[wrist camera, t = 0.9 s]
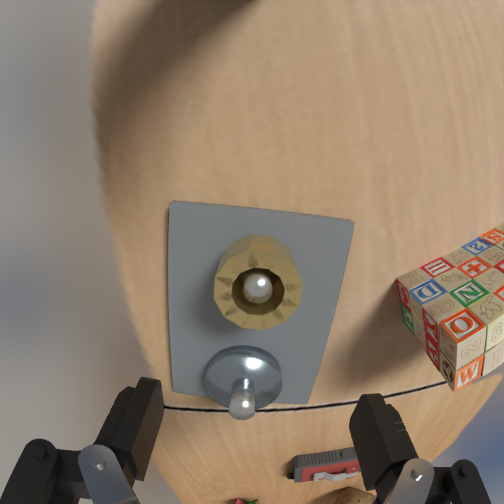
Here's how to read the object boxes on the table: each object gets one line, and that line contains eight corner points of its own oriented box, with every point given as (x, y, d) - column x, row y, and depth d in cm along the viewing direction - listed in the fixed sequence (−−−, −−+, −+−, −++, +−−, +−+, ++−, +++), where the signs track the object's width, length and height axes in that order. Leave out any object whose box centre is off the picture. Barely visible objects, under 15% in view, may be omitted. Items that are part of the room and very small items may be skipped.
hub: (207, 341, 29) (198, 378, 23) (286, 348, 29) (292, 386, 23) (206, 394, 31) (199, 430, 26) (275, 400, 31) (277, 437, 26)
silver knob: (233, 233, 25) (227, 256, 20) (287, 239, 25) (295, 263, 20) (229, 283, 26) (222, 315, 21) (280, 288, 27) (285, 321, 21)
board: (173, 200, 25) (169, 202, 24) (350, 219, 26) (354, 222, 24) (175, 385, 32) (173, 391, 31) (306, 397, 33) (307, 404, 31)
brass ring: (223, 230, 23) (216, 245, 19) (300, 238, 23) (308, 255, 19) (218, 299, 25) (212, 324, 21) (288, 306, 25) (294, 332, 21)
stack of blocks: (520, 210, 25) (588, 238, 13) (522, 253, 26) (581, 289, 15) (394, 278, 28) (457, 345, 16) (402, 324, 29) (454, 396, 18)
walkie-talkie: (286, 476, 40) (391, 457, 40) (287, 495, 36) (397, 474, 35) (286, 453, 38) (404, 432, 37) (288, 475, 33) (412, 451, 33)
